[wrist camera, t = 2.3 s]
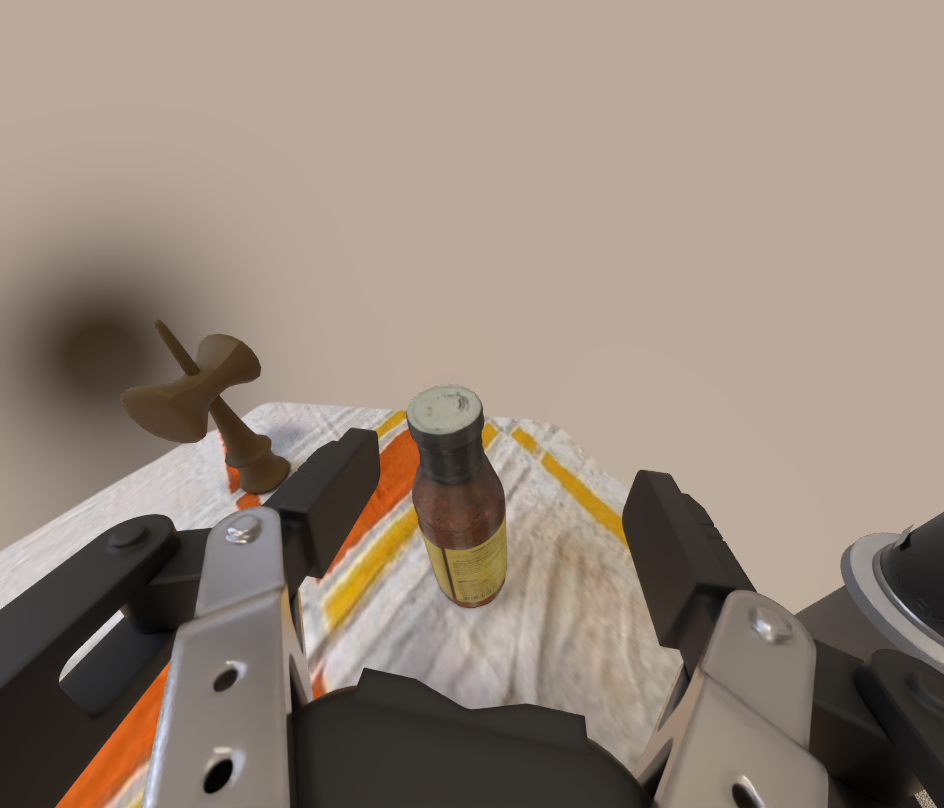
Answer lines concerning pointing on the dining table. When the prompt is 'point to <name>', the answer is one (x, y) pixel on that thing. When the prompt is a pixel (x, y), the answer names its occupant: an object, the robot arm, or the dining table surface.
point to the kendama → (208, 406)
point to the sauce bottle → (458, 495)
